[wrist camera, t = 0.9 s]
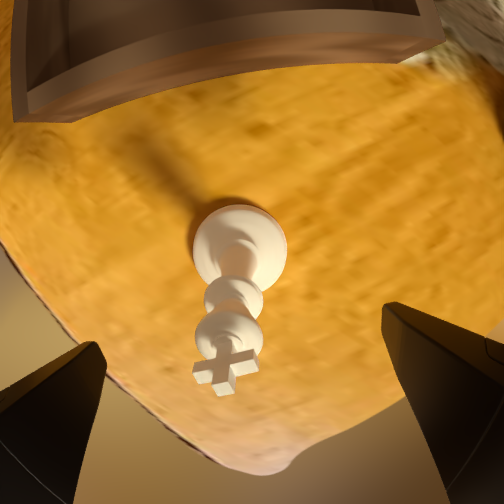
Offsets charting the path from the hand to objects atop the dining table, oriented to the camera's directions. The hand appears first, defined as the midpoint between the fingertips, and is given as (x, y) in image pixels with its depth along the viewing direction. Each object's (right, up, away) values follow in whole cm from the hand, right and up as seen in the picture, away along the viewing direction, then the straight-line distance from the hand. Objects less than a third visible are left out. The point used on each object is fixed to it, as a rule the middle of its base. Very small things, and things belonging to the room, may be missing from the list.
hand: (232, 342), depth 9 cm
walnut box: (-2, +21, +1) cm, 22 cm away
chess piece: (0, +3, +8) cm, 8 cm away
